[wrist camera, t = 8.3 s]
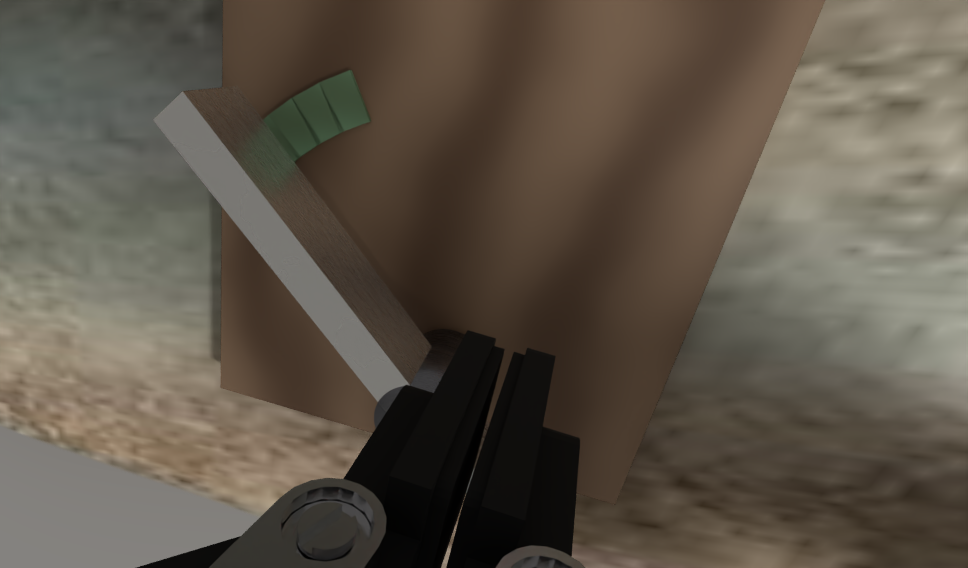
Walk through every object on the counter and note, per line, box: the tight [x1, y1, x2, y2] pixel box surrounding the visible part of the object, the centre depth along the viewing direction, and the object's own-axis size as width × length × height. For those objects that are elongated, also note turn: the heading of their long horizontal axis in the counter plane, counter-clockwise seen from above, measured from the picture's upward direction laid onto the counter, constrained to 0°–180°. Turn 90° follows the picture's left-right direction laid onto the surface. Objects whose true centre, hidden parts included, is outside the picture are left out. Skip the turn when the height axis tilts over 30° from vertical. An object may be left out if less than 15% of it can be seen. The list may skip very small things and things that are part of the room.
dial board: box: [221, 0, 825, 505], centre depth 24 cm, size 21×23×2 cm
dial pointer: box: [153, 86, 489, 493], centre depth 22 cm, size 18×4×5 cm, turn 35°
